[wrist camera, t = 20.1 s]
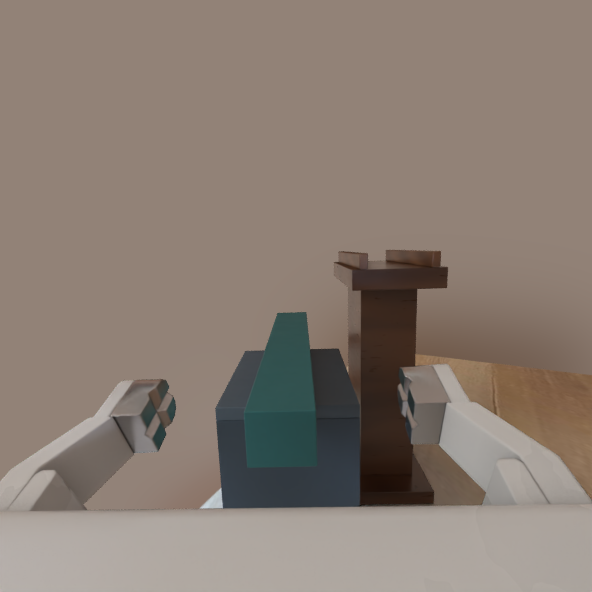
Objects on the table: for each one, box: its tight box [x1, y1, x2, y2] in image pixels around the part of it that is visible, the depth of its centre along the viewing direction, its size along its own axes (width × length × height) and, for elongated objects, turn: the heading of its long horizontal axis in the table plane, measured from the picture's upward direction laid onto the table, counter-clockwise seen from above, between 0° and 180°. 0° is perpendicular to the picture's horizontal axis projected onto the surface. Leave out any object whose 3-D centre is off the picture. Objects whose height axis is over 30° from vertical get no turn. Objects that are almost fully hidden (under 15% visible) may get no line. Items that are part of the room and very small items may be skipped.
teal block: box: [244, 312, 318, 468], centre depth 26 cm, size 23×4×3 cm, turn 179°
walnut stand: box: [334, 250, 448, 505], centre depth 39 cm, size 16×9×28 cm, turn 179°
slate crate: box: [215, 349, 360, 508], centre depth 29 cm, size 12×10×18 cm
